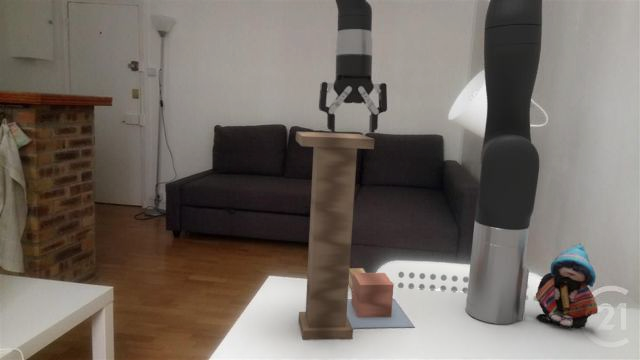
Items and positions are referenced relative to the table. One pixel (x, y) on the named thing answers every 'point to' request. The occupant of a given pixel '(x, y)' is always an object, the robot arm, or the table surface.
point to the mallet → (371, 293)
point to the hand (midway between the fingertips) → (352, 132)
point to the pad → (379, 318)
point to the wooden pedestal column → (330, 232)
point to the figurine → (568, 290)
